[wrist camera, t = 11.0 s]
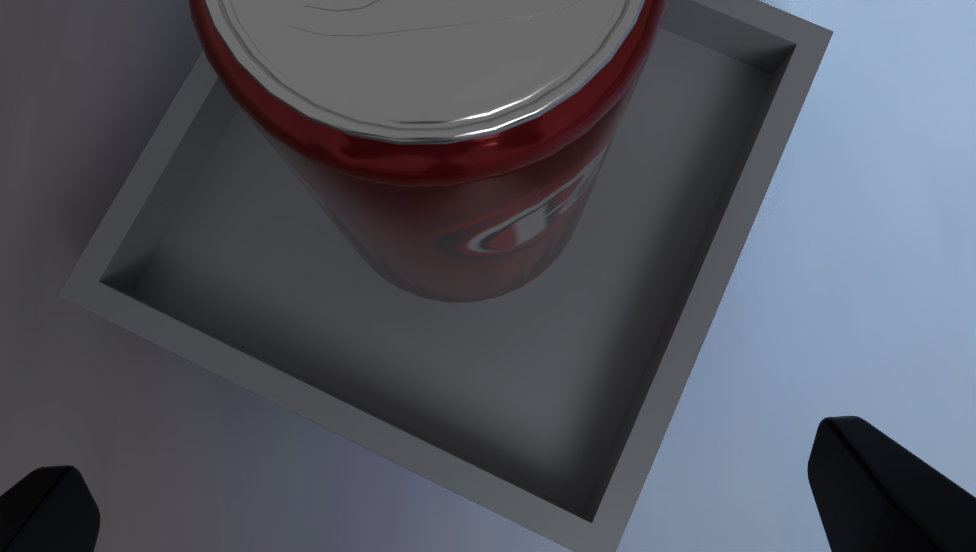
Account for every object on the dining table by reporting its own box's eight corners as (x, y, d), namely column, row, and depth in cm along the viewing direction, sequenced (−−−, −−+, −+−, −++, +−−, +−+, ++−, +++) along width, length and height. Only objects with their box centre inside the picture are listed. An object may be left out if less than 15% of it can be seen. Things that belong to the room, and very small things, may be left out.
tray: (797, 72, 23) (833, 31, 21) (594, 551, 21) (608, 568, 18) (351, -116, 25) (335, -175, 22) (105, 309, 22) (56, 295, 20)
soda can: (307, 267, 22) (86, 85, 10) (383, 49, 23) (267, -340, 11) (545, 337, 21) (610, 232, 9) (609, 109, 23) (735, -230, 11)
